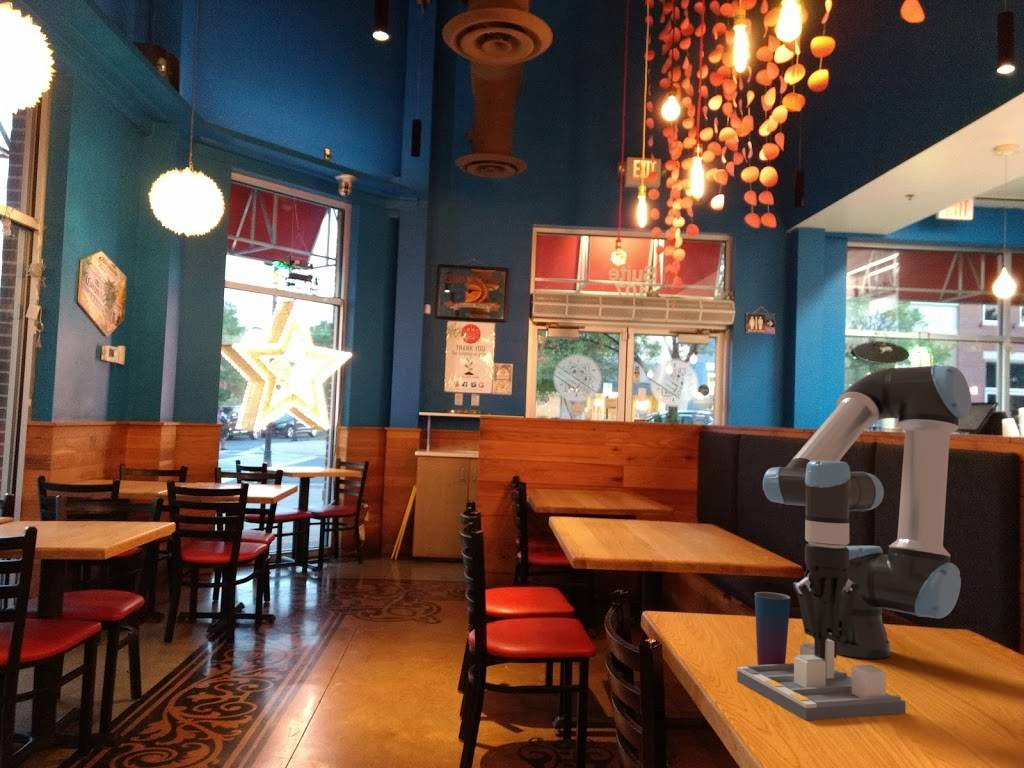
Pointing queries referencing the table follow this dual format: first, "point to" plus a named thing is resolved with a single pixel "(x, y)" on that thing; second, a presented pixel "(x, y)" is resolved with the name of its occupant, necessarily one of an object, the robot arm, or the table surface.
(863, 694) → the tab
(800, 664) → the tab middle
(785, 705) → the switch bank
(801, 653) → the tab
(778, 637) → the cup
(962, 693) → the table surface
